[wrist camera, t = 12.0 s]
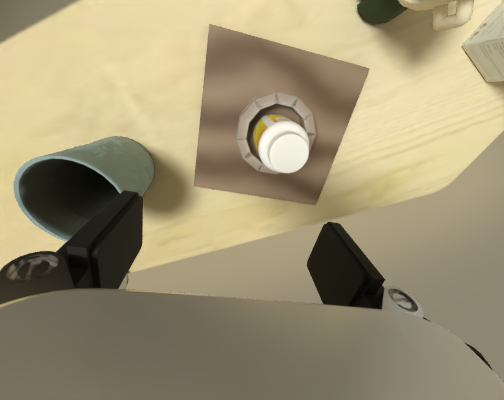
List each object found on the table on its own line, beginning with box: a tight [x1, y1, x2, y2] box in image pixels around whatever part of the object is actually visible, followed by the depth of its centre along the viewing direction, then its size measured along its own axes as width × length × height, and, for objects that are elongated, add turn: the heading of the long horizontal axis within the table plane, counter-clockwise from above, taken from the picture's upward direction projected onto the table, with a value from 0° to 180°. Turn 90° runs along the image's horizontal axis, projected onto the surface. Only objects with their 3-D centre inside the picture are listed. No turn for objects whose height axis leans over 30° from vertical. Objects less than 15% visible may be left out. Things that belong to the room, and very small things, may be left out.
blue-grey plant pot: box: [14, 136, 155, 241], centre depth 27 cm, size 10×10×12 cm
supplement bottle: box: [253, 113, 309, 173], centre depth 26 cm, size 6×6×10 cm
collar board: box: [194, 24, 369, 205], centre depth 29 cm, size 20×20×4 cm
